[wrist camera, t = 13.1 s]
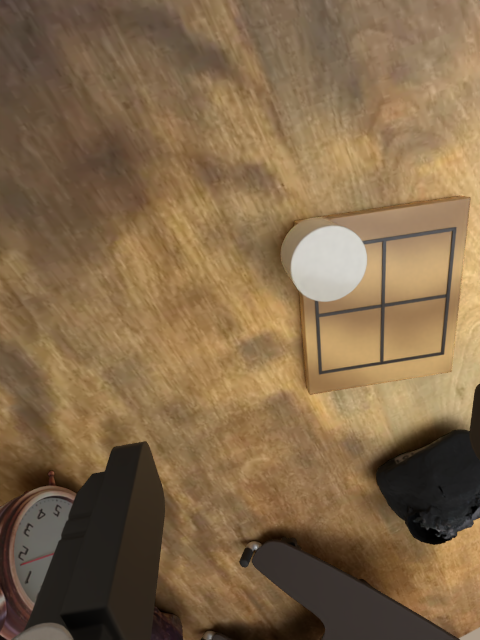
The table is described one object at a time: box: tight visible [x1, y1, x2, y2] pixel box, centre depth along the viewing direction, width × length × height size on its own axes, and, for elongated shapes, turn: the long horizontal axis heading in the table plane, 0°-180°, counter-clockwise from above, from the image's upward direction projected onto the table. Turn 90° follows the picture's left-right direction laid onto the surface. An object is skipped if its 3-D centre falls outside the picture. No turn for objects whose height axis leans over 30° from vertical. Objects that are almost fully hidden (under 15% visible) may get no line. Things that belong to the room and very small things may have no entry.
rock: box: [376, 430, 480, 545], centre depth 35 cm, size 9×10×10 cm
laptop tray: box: [201, 537, 460, 640], centre depth 41 cm, size 23×23×9 cm
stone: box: [281, 217, 367, 302], centre depth 25 cm, size 5×5×3 cm
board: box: [294, 196, 470, 395], centre depth 29 cm, size 14×12×1 cm
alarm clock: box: [0, 471, 76, 640], centre depth 28 cm, size 11×5×15 cm, turn 34°
